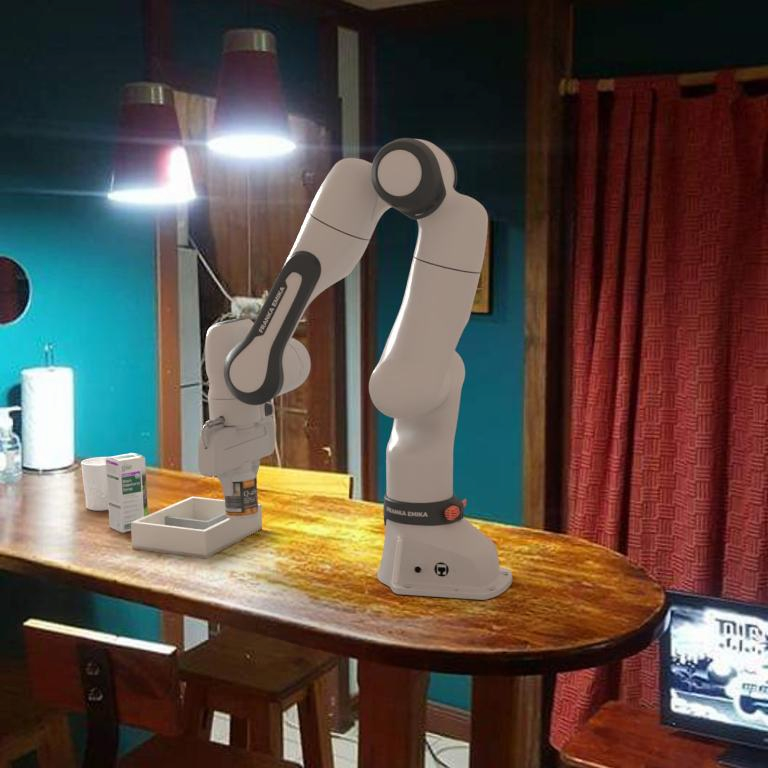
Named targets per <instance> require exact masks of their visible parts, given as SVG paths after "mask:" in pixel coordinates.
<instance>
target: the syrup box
mask: <svg viewBox="0 0 768 768" xmlns="http://www.w3.org/2000/svg"><path fill="white" fill-rule="evenodd" d="M106 457H107V458H106V474H107V490H108V506H109V510H108V519H109V528H111V529H113V530H115V531H117V532H119V533H121V534H125V533H128V532H131V522H133V521H135V520H138V519H140V518H142V517H145V516H147V515H149V508H148V491H147V490H148V487H147V471H146V470H147V469H146V468H147V467H146V457H145V456H143V455H142V454H139V453H133V452H129V453H125V454H119V455H114V456H106Z"/></svg>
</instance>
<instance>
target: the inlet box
mask: <svg viewBox="0 0 768 768" xmlns="http://www.w3.org/2000/svg"><path fill="white" fill-rule="evenodd" d="M262 511H263V510H262V503H258V515H257V516H255V517H253V518H250V519H244V520H233V519H229V518H227V516H226V511H225V499H217V498H209V497H200V496H190V497H188V498H185V499H183V500H181V501H178V502H175V503H173V504H171V505H169V506H166V507H163V508H162V509H159V510H157V511H154V512H151V513H148V515H147V516H145V517H142V518H140V519H138V520H135V521H133V522H131V531H130V533H131V535H130V537H131V549H132V548H133V550H139V549H140V550H141V551H146V550H147V551H148V552H155V553H163V554H170V555H175V554H176V555H175V556H177V555H178V556H183V555H184V556H183V557H192V558H198V559H208V558H210V557H212V556H213V555H215V554H218V553H219V552H221V551H223V550H225V549H227V548H229V547H231V546H233V545H235V544H236V542H237V543H239V542H240V541H242V540H244V539H246V538H248V537H250V536H252V535H254V534H256V533H257V532H259V531H261V530H262V529H263V514H262V513H263V512H262ZM260 529H261V530H260ZM258 530H259V531H258ZM256 531H257V532H256ZM253 533H254V534H253ZM251 534H252V535H251ZM249 535H250V536H249ZM247 536H248V537H247ZM245 537H246V538H245ZM243 538H244V539H243ZM241 539H242V540H241ZM234 543H235V544H234ZM232 544H233V545H232ZM226 547H227V548H226ZM140 550H139V551H140Z"/></svg>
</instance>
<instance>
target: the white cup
mask: <svg viewBox="0 0 768 768" xmlns="http://www.w3.org/2000/svg"><path fill="white" fill-rule="evenodd" d="M107 457H108V456H99V457H98V456H97V457H90V458H86V459H83V460H82V461H81V463H80V464H81V472H82V473H81V474H82V485H83V493H84V497H85V507H86V509H87V510H90V511H96V512H99V511H109V506H108V490H107V474H106V458H107Z"/></svg>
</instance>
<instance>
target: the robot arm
mask: <svg viewBox="0 0 768 768" xmlns="http://www.w3.org/2000/svg"><path fill="white" fill-rule="evenodd" d="M457 182H458V171H457V166H456V164H455V161H454V160H453V158H452V157H451V155H450V154H449V153H448V151H446V150H444V149H443V148H441V147H440V146H438V145H436V144H434V143H432V142H431V141H428V140H426V139H422V138H421V139H420V138H419V139H418V138H410V137H402V138H397V139H394V140H392V141H390V142H388V143H386V144H385V145H384V146H383V147H381V148H380V149H379V151H378V152H377V154H376V155H375V156H374V158H373V161H372V162H369V161H367V160H365V159H361V158H356V157H346V158H343V159H340V160H338V161H337V162H336V163H335V164H334V165H333V167H332V168H331V170H330V171H329V172H328V174H327V176H326V177H325V178H324V180H323V181H322V183H321V185H320V187H319V188H318V190H317V191H316V194H315V196H314V198H313V200H312V202H311V205H310V207H309V209H308V211H307V213H306V214H305V215H306V216H305V218H304V221H303V223H302V225H301V227H300V231H298V234H297V237H296V239H295V241H294V243H293V245H292V248H291V250H290V252H289V254H288V256H287V258H286V260H285V262H284V265H283V266H282V268H281V271H280V272H279V274H278V275H277V277H276V279H275V280H274V282H273V285H272V287H271V289H270V291H269V293H268V294H267V296H266V299H265V300H264V303H263V304H262V307H261V308H260V310H259V312H258V314H257V316H256V318H255V319H254V321H252V319H250V318H248V317H238V318H237V317H236V318H233V319H227V320H224V321H220V322H216V323H213V324H212V325H210V327H209V328H208V329H207V331H206V336H205V345H204V348H205V349H204V352H205V353H204V354H205V355H204V356H205V357H204V358H205V371H206V375H207V378H208V381H209V389H208V393H207V399H208V400H207V401H208V403H207V404H208V414H209V420H207V421H205V423H204V425H203V427H202V428H201V431H200V435H199V437H198V446H197V468H198V471H199V473H200V474H201V476H206V477H217V479H218V481H219V483H220V484H221V486H222V494H223V496H224V495H225V496H232V495H234V494H236V484H233V483H232V480H231V477H230V476H232V470H233V469H236V468H238V467H241V466H242V465H243V463H245V462H248V461H250V460H252V468H251V471H252V472H254V473H255V475H256V482H257V483H258V479H257V476H258V474H259V473H258V472H259V469H260V463H261V461H260V460H261V459H262V458H265V457H267V456H270V455H272V454H273V453H274V451H275V448H276V428H275V420H274V418H273V415H275V411H276V410H275V407H276V406H275V404H274V403H273V402H270V401H271V400H273V399H275V398H276V397H279V396H281V395H284V394H286V393H287V394H288V392H290V391H293V390H296V389H297V388H299V387H300V386H302V385H303V384H304V383H305V382H306V381H307V380H308V378H309V376H310V374H311V371H312V360H311V358H312V357H311V354H310V353H309V350H308V349H307V347H306V346H305V345H304V344H303V343H302V342H301V341H300V340H299V339H296V338H295V337H293V336H294V334H295V332H296V329H297V328H298V326H299V323H300V322H301V320H302V318H303V316H304V314H305V312H306V311H307V309H308V307H309V306H310V304H312V302H313V301H314V300H315V299H316V298H317V297H318V296H319V295H320V294H321V293H323V292H324V291H325V290H326V289H328V288H330V287H331V286H333V285H334V284H336V283H337V282H339V281H341V280H342V279H344V278H346V277H347V276H349V275H350V274H351V273H352V272H353V270H354V268H355V267H356V266H357V265H358V264H359V261H360V260H361V258H362V257H363V255H364V253H365V251H366V249H367V248H368V245H369V243H370V240H371V238H372V236H373V234H374V231H375V229H376V228H377V227H376V226H377V224H378V222H379V221H380V219H381V217H382V216H383V214H384V213H385V212H386V211H388V210H389V209H390V208H393V209H395V210H397V211H399V212H400V213H401V214H403V215H404V216H407V217H408V218H410V219H412V220H414V221H415V220H416V221H417V225H418V234H417V239H416V244H415V249H414V252H413V257H412V261H411V266H410V270H409V274H408V277H407V283H406V287H405V291H404V295H403V298H402V302H401V305H400V308H399V311H398V313H397V316H396V318H395V321H394V324H393V326H392V328H391V331H390V333H389V335H388V337H387V340H386V342H385V346H384V348H383V351H382V354H381V356H380V359H379V361H378V363H377V364H376V366H375V368H374V369H373V371H372V373H371V375H370V378H369V382H368V393H369V395H370V400H371V401H372V404H373V405H374V407H375V408H376V409H377V410H378V411H379V412H381V413H382V414H383V415H385V416H387V417H389V418H393V423H392V429H391V433H390V437H389V440H388V442H387V446H386V452H385V455H386V456H385V459H386V460H385V463H386V465H385V466H386V467H385V468H386V469H385V471H386V472H385V473H386V474H385V475H386V476H385V478H386V480H385V482H386V483H385V484H386V492H385V494H384V495H383V506H382V507H383V510H382V511H383V513H382V514H383V524H384V527H385V529H384V531H385V532H384V542H383V549H382V553H381V560H380V564H379V569H378V571H377V575H376V576H377V580H379V582H380V583H382V584H384V585H385V586H387V587H390V589H391V591H392V592H393V593H394V594H396V595H406V596H420V597H423V596H424V597H436V598H437V597H438V598H448V599H449V598H450V599H463V600H464V599H466V600H482V601H485V600H489V599H493V598H495V597H497V596H500V595H502V594H503V593H504V592H506V590H508V588H510V586H511V585H512V583H513V573H512V571H511V570H510V569H509V568H505V567H502V566H500V562H499V555H498V551H497V547H496V545H495V543H494V541H493V540H492V539H491V538H489V537H488V536H487V535H485V534H484V533H483V532H482V531H480V530H479V529H478V528H477V527H476V526H474V524H472V523H471V522H470V521H469V520H468V519H466V518H465V517H464V515H465V507H466V506H467V499H466V498H464V499H463V500H462V501H461V500H460V499H459V498H458V497H457V496H456V495H455V493H454V448H455V447H454V446H455V445H454V444H455V436H456V431H457V425H458V418H459V411H460V404H461V397H462V396H461V395H462V388H463V384H464V381H465V377H466V369H465V368H466V367H465V364H464V361H463V359H462V357H461V356H460V354H459V353H458V352H457V351H456V348H457V346H458V343H459V341H460V338H461V337H462V334H463V332H464V329H465V328H466V326H467V324H468V322H469V321H470V318H471V317H470V316H471V314H472V313H471V312H472V310H473V305H474V302H475V296H476V293H477V288H478V284H479V282H480V281H479V280H480V277H481V272H482V268H483V263H484V259H485V253H486V249H487V248H486V247H487V238H488V237H487V236H488V226H489V220H488V219H489V218H488V217H489V216H488V212H487V210H486V209H485V207H484V205H483V204H481V203H480V202H479V201H477V200H476V199H475V198H473V197H470V196H469V195H465V194H463V193H462V194H461V193H459V192H458V191H456V190H455V189H456V186H457Z"/></svg>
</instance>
